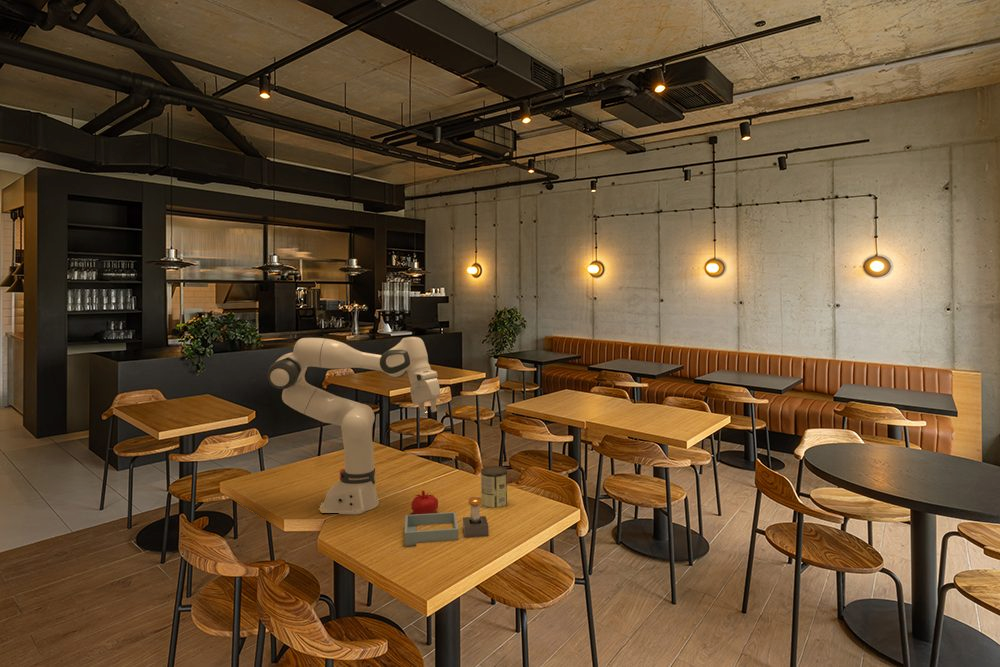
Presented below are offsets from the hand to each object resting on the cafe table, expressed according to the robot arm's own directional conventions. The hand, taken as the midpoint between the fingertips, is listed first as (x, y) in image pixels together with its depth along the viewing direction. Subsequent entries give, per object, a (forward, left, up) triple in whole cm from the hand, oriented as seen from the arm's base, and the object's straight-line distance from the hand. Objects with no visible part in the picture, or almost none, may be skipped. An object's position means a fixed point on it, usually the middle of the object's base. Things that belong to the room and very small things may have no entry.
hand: (429, 413), depth 202 cm
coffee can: (+25, +2, -38) cm, 46 cm away
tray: (0, -21, -38) cm, 43 cm away
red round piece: (-2, -3, -38) cm, 38 cm away
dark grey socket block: (+15, -23, -38) cm, 47 cm away
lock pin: (+15, -23, -37) cm, 46 cm away
